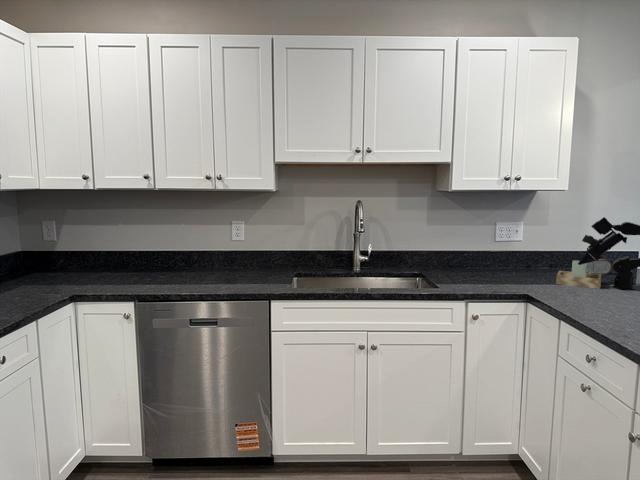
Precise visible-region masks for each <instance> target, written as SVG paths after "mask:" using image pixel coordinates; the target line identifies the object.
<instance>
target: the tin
mask: <svg viewBox="0 0 640 480" xmlns="http://www.w3.org/2000/svg"><path fill="white" fill-rule="evenodd" d="M612 269H613V263H611V262H610V261H609V260H607V259H605V258H600V259H599V260H596V261H593V262H589V263H587V273H590V274H601V275H608V274H609V273H610V272H612Z"/></svg>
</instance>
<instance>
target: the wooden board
mask: <svg viewBox="0 0 640 480" xmlns="http://www.w3.org/2000/svg"><path fill="white" fill-rule="evenodd" d="M571 274H572V271H570V270H569V271H566V270H558V272H557V273H556V277H555V278H556V280H555V285H560V286H562V285H563V286H569V287H571V286H572V287H579V288H587V287H588V289H589V288H590V289H596V288H597V289H598V290H601V282H602V274H590V273H586V278H585V277H575V276H571Z"/></svg>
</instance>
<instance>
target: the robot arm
mask: <svg viewBox="0 0 640 480" xmlns="http://www.w3.org/2000/svg"><path fill="white" fill-rule="evenodd" d="M590 227H591V228H592V229H593V230H595V232H597V233H598V234H599V235H602V236H603V235H604V237H602V238H599V239H596V238H594V236H592V235H587V234H585V235H584V237H583V238H582V240H581V242H584V243H586V244H589V245H588V246H587V248H586V250H585V253H584V254H583V255H582V256H581V258H579V260H578V261H579V262H578V264H579V265H582V264H585V263H589V262H593V261H596V260H599V259H602V256H603V255H604V254H605V253H606V252H608V251H610V250H611V249H612V248H613V247H615V246H616V245H618V244H619V243H620V242H623V243H625V244H627V239H628V236H640V224H636V223H633V222H629V221H625V222H622V223H621V224H612V223H611V222H610V221H609V220H608V219H607V218H606V217H605V216H604V217H602V218H600V219H599V220H597V221H596V222H595V223H593V224H592V225H591V226H590ZM620 232H621V233H620ZM624 235H625V236H624ZM637 268H640V257H637V258H630V256H629V255H627V256H624V257H618V259H616V260H614V261H613V262H612V269H613V271H615V272H616V273H617V274H615V276H614V277H615V278H614V279H613V280H614V282H613V285H612V287H613V288H614V289H615V288H616V289H619V290H622V291H626V290H627V291H630V290H631V291H635V290H636V288H634V278H635V275H634V272H633V270H635V269H637Z"/></svg>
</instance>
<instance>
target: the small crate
mask: <svg viewBox="0 0 640 480" xmlns="http://www.w3.org/2000/svg"><path fill="white" fill-rule="evenodd" d="M578 262H579V260H572V262H571V264H572V265H571V272H572V274H571V276H575V277H585V278H586V273H587V263H585V264H582V265H579V264H578Z"/></svg>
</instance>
